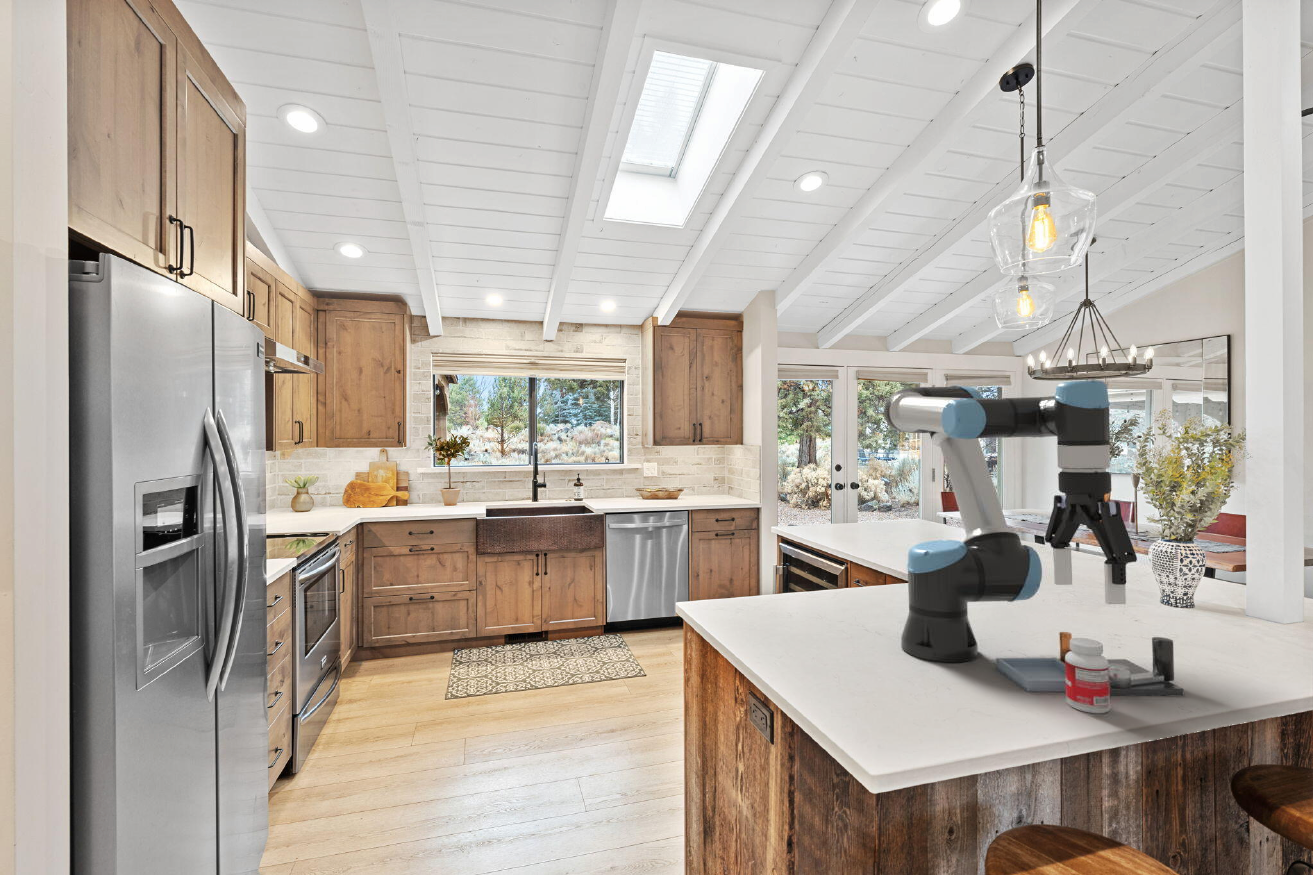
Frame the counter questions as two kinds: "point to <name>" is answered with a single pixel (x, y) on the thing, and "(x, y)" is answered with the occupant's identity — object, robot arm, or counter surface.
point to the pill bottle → (1087, 676)
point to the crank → (1161, 672)
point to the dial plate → (1135, 689)
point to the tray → (1035, 673)
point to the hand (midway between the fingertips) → (1087, 593)
